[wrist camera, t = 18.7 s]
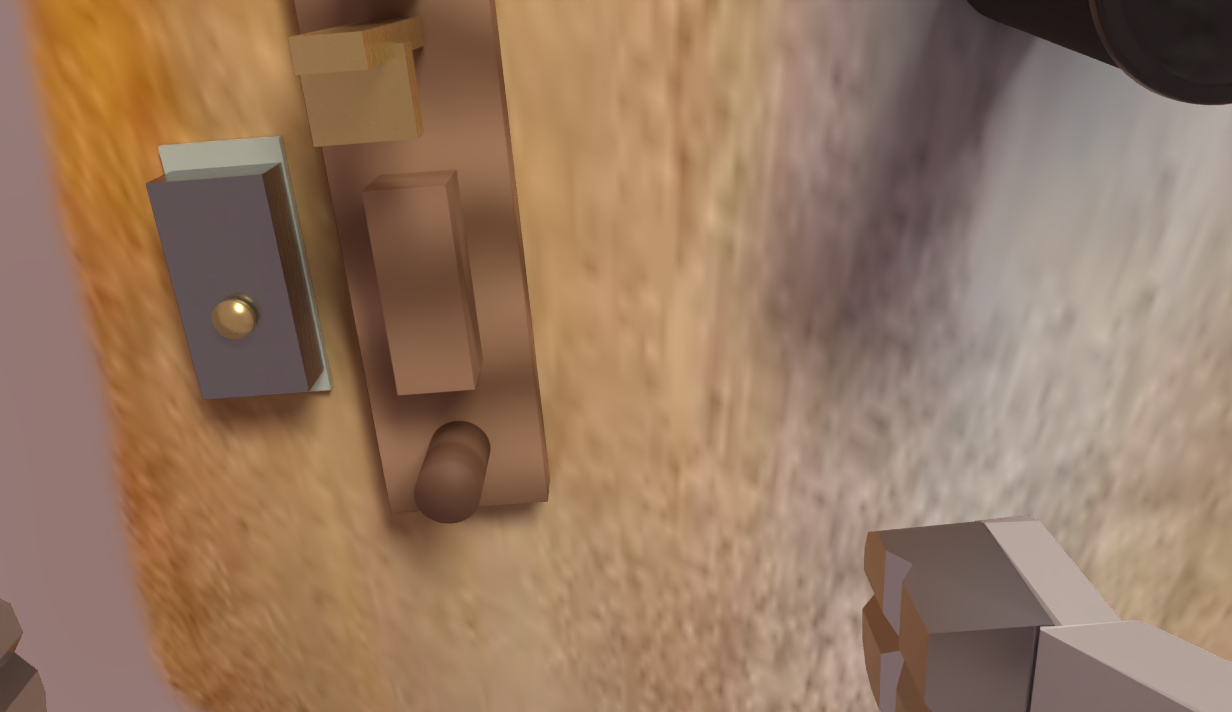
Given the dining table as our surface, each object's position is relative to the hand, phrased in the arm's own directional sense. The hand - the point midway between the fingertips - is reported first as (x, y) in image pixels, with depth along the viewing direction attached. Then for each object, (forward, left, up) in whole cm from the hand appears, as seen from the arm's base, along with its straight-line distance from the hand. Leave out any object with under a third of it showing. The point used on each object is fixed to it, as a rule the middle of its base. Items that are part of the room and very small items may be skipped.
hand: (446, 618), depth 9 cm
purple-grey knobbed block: (-5, +13, -31) cm, 34 cm away
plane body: (-4, +5, -31) cm, 32 cm away
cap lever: (+3, +6, -29) cm, 30 cm away
